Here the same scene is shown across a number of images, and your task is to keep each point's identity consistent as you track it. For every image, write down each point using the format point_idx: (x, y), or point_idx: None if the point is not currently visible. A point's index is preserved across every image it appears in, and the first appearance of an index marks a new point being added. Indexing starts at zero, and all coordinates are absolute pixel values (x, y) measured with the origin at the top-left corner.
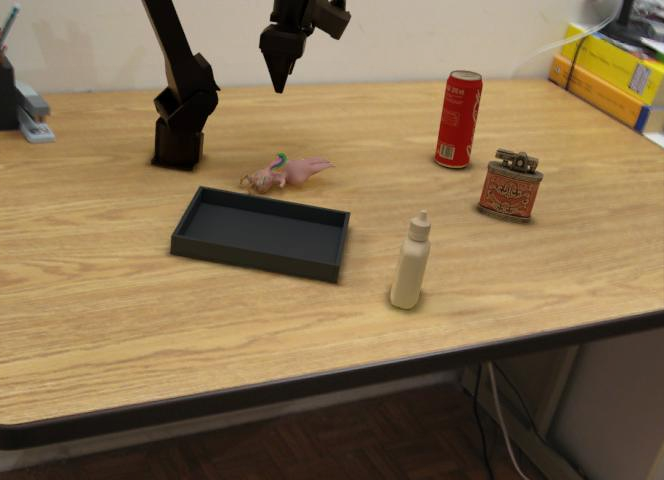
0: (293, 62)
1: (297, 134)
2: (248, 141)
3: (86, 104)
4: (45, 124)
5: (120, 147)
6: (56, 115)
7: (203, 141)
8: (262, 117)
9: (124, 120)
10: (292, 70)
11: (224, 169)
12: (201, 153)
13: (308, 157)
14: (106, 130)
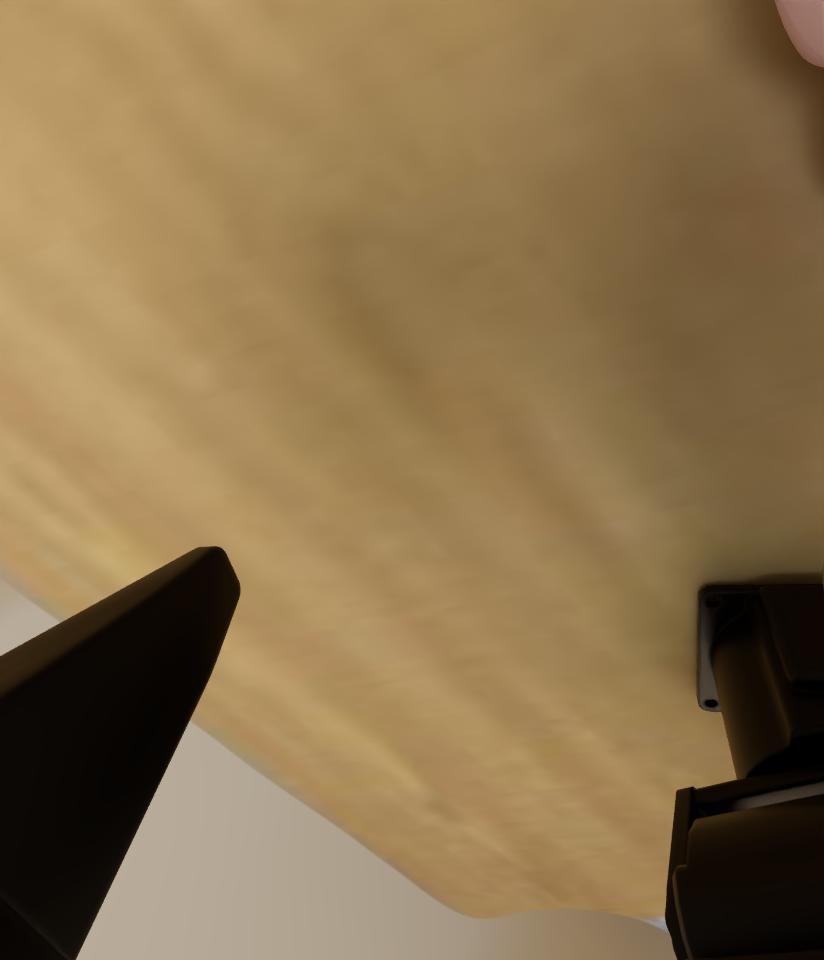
0: (143, 622)
1: (220, 307)
2: (438, 468)
3: (469, 868)
4: (660, 920)
5: None
6: (585, 907)
7: (789, 639)
8: (181, 482)
9: (516, 799)
10: (194, 566)
11: (809, 478)
12: (802, 603)
13: (822, 25)
14: (620, 824)
